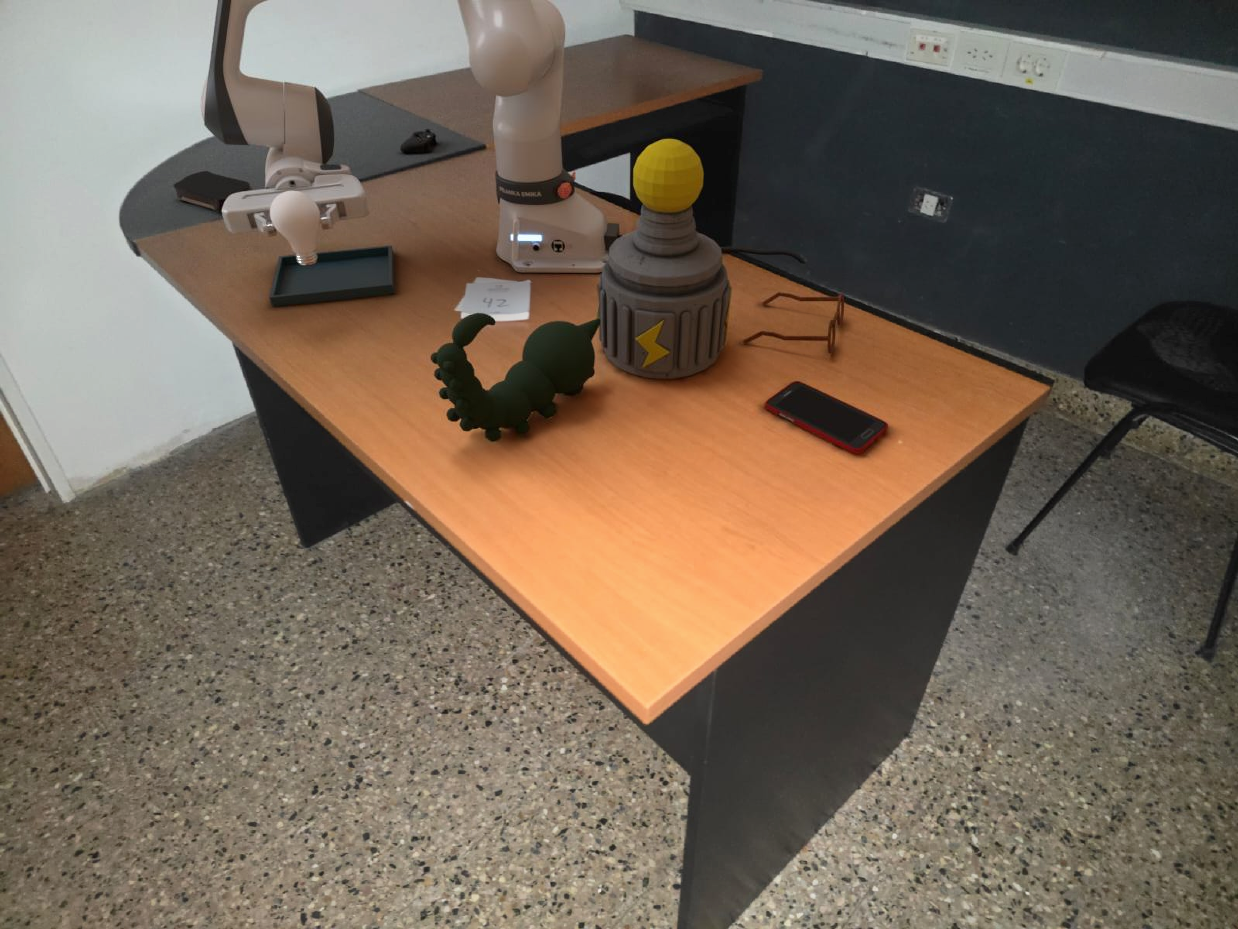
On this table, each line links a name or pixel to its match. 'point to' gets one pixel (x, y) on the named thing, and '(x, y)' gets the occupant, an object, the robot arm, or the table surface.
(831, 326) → the glasses
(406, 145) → the game controller
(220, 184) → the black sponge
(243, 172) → the table surface
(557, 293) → the table surface
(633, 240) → the decorative lamp
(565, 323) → the toy figurine
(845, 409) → the cell phone
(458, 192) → the table surface
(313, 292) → the tray
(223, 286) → the table surface
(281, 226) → the light bulb
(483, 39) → the robot arm
